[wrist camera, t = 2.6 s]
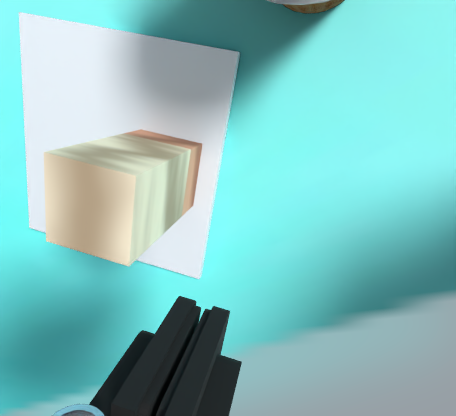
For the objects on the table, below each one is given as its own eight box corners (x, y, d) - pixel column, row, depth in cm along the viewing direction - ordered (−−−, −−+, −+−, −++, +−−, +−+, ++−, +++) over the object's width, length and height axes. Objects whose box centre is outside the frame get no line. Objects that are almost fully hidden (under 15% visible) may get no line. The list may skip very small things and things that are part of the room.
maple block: (202, 143, 25) (136, 175, 16) (193, 205, 27) (128, 266, 18) (140, 129, 26) (43, 152, 17) (136, 190, 28) (46, 241, 18)
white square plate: (240, 52, 23) (238, 51, 22) (201, 275, 29) (199, 279, 29) (25, 13, 26) (18, 12, 25) (34, 225, 32) (29, 227, 32)
